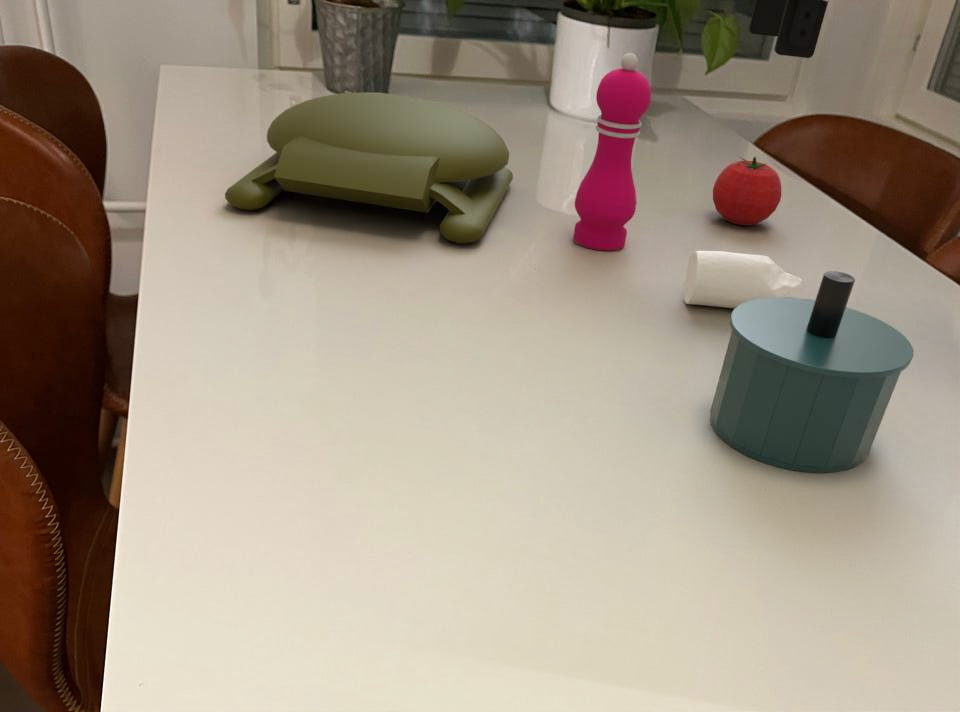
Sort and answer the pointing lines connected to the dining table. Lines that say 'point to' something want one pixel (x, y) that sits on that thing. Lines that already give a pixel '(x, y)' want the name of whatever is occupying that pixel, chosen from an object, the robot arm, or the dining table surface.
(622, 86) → the pepper mill
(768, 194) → the tomato
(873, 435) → the pot
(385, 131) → the spaceship
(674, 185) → the dining table surface
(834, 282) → the pot lid
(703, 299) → the white bottle
